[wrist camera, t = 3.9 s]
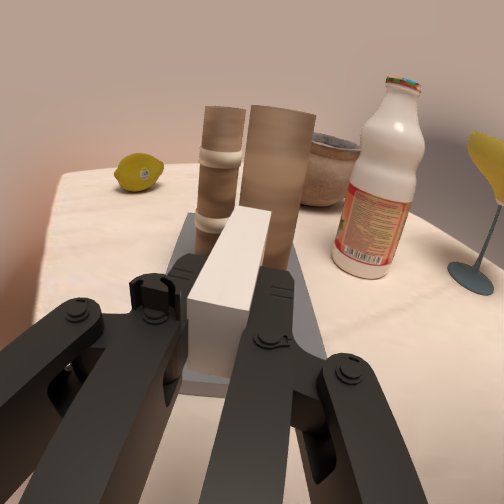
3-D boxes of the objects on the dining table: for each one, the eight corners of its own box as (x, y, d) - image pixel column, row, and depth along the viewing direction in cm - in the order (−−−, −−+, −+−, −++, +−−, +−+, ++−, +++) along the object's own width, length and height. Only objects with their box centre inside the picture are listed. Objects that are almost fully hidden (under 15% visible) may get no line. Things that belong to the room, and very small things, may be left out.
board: (284, 232, 52) (289, 204, 49) (327, 398, 24) (346, 362, 22) (187, 223, 50) (188, 195, 48) (137, 387, 23) (128, 348, 20)
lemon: (114, 198, 57) (113, 159, 53) (114, 186, 63) (113, 151, 59) (166, 194, 61) (168, 156, 58) (160, 183, 67) (161, 148, 64)
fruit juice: (353, 284, 40) (406, 73, 27) (319, 250, 48) (356, 68, 34) (398, 276, 44) (450, 95, 30) (364, 246, 51) (402, 86, 38)
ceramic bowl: (251, 181, 76) (259, 122, 69) (329, 187, 81) (340, 134, 74) (274, 217, 57) (287, 137, 50) (371, 222, 62) (389, 155, 55)
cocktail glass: (413, 255, 51) (452, 122, 39) (463, 252, 56) (497, 145, 44) (480, 316, 36) (543, 159, 24) (519, 299, 42) (567, 179, 30)
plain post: (269, 352, 24) (318, 117, 16) (221, 343, 25) (246, 105, 16) (273, 321, 28) (314, 113, 19) (230, 313, 28) (255, 104, 19)
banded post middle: (229, 256, 39) (247, 108, 30) (229, 276, 35) (247, 111, 26) (195, 253, 38) (206, 105, 30) (191, 272, 35) (201, 107, 26)
